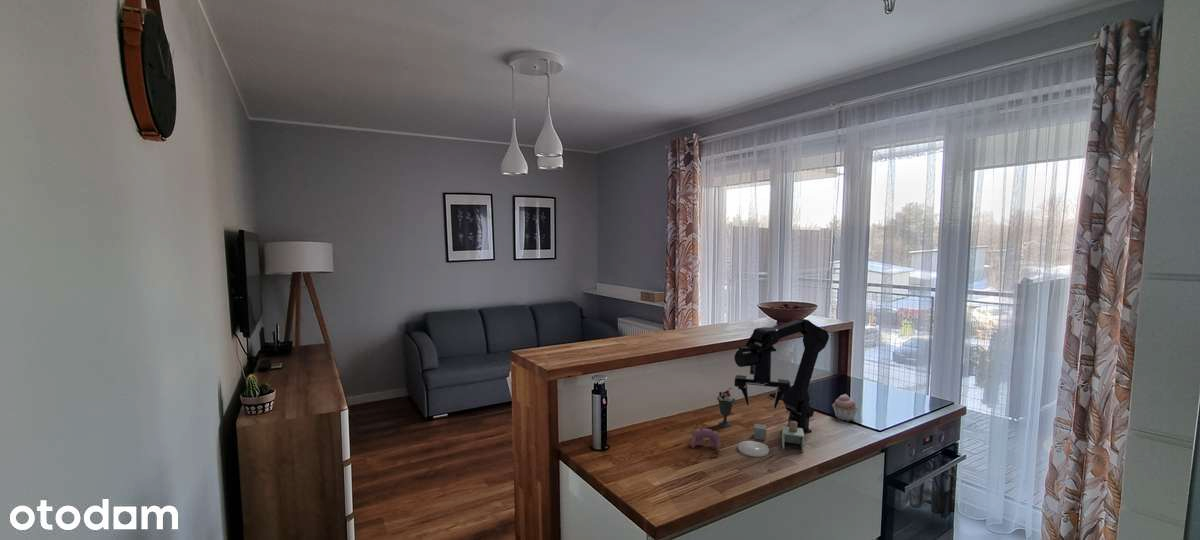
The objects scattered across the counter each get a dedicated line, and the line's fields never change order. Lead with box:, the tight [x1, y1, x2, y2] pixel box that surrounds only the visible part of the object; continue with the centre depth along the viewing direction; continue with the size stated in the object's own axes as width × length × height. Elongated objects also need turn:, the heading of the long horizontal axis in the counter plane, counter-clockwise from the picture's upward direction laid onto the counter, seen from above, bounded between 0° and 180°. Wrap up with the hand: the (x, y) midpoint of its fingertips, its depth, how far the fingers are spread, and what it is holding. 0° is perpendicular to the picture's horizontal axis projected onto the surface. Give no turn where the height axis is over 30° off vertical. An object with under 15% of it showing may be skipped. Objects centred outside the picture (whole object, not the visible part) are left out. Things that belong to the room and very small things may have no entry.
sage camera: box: [781, 421, 805, 452], centre depth 163 cm, size 7×7×8 cm
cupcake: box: [831, 393, 859, 422], centre depth 188 cm, size 9×9×10 cm
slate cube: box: [753, 423, 767, 441], centre depth 170 cm, size 4×4×4 cm
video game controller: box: [690, 428, 722, 452], centre depth 163 cm, size 10×5×7 cm, turn 72°
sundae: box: [716, 387, 736, 428], centre depth 181 cm, size 7×7×15 cm
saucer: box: [737, 440, 770, 458], centre depth 160 cm, size 10×10×1 cm
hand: (761, 406), depth 170 cm, fingers open, 9 cm apart
